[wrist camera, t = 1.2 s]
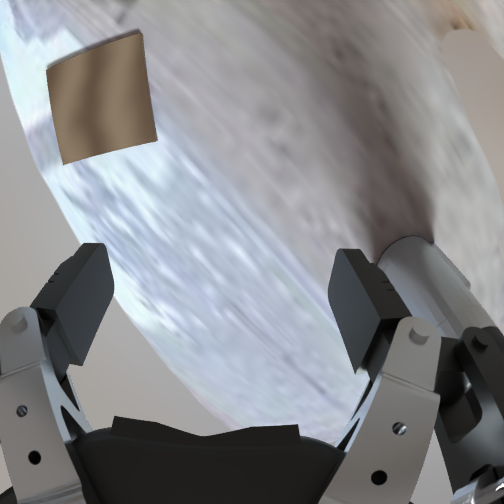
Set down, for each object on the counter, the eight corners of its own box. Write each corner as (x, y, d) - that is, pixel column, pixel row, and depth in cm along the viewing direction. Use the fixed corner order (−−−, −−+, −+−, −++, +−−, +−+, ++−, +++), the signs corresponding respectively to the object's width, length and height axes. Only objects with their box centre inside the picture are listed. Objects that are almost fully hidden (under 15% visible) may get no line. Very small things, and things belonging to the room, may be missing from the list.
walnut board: (142, 34, 22) (139, 33, 21) (157, 140, 28) (155, 141, 27) (49, 70, 22) (45, 70, 21) (66, 163, 28) (63, 165, 28)
